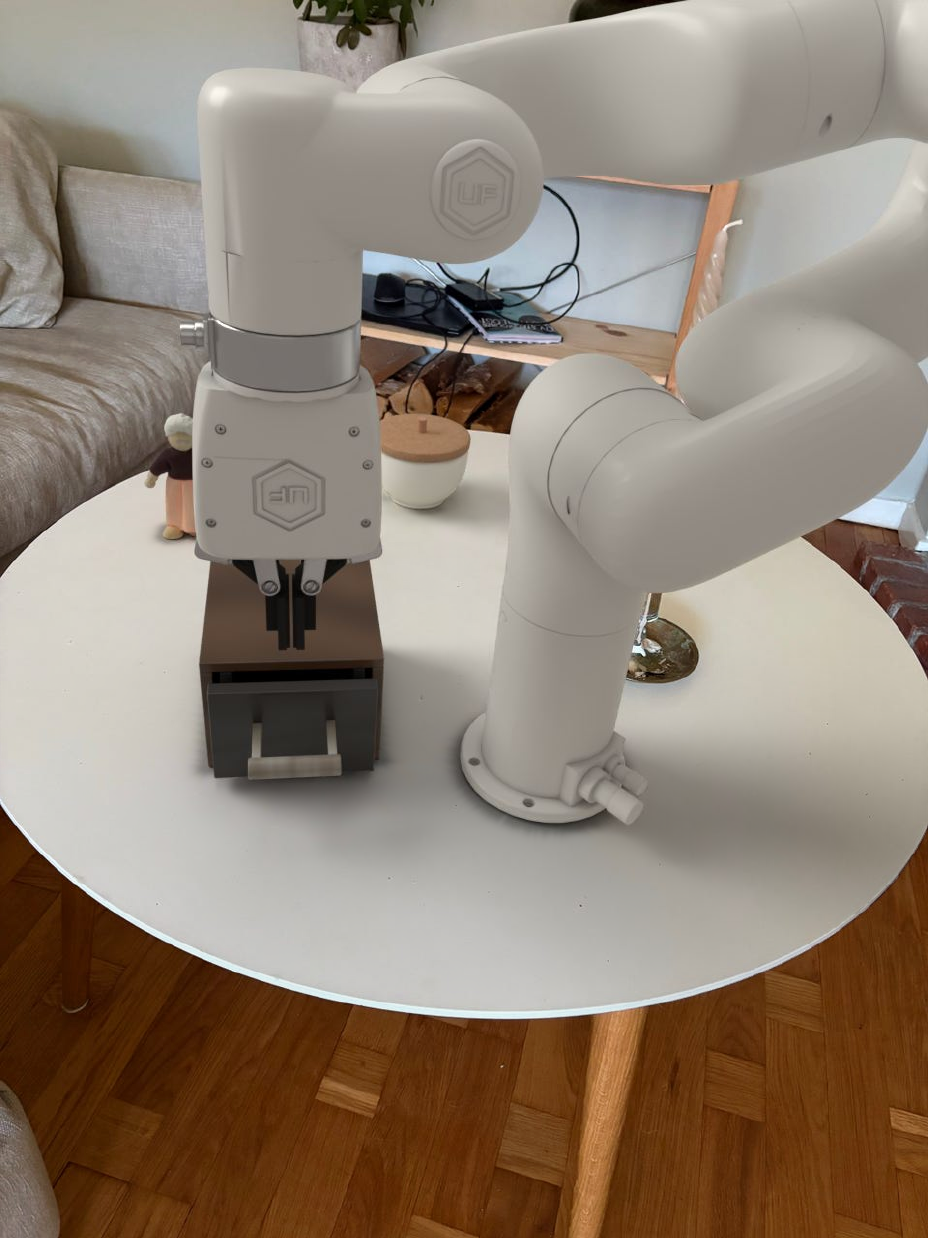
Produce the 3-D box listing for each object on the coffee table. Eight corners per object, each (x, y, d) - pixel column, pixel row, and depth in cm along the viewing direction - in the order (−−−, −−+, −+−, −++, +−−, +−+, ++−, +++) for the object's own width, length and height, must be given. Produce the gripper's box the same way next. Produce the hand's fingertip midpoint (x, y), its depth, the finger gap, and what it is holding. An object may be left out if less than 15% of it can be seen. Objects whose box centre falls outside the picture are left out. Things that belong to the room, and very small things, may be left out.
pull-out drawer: (379, 821, 66) (384, 737, 62) (210, 830, 64) (202, 744, 60) (361, 659, 81) (363, 582, 77) (223, 663, 79) (217, 583, 75)
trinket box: (360, 477, 110) (362, 400, 105) (449, 472, 114) (455, 397, 108) (381, 523, 102) (385, 442, 97) (476, 516, 105) (485, 437, 100)
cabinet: (379, 759, 73) (384, 658, 67) (208, 766, 70) (198, 663, 65) (365, 644, 84) (368, 551, 79) (218, 648, 82) (211, 552, 77)
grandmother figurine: (159, 547, 94) (146, 427, 87) (147, 529, 97) (134, 411, 90) (234, 532, 98) (227, 416, 91) (221, 515, 101) (213, 401, 93)
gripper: (124, 370, 45) (160, 678, 55) (440, 379, 47) (417, 671, 58) (142, 318, 51) (171, 605, 61) (422, 329, 53) (404, 601, 64)
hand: (291, 636), depth 59 cm, fingers closed
